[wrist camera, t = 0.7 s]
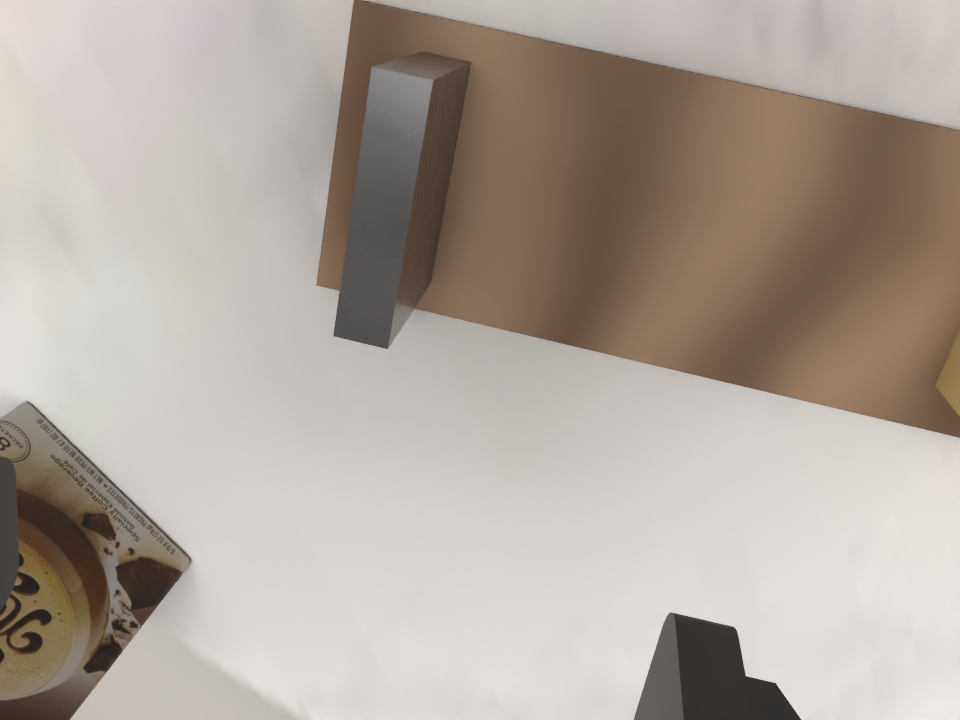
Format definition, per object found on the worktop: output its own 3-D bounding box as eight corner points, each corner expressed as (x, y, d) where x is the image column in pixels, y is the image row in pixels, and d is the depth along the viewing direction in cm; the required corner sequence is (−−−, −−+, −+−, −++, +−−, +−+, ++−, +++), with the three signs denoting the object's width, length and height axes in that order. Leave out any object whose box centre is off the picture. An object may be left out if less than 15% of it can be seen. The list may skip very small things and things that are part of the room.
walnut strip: (321, 279, 31) (249, 350, 25) (359, -1, 27) (285, 2, 21) (1223, 492, 29) (1380, 623, 23) (1386, 223, 26) (1622, 295, 20)
